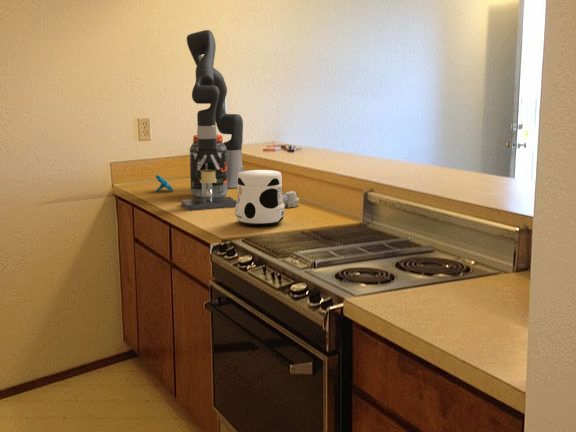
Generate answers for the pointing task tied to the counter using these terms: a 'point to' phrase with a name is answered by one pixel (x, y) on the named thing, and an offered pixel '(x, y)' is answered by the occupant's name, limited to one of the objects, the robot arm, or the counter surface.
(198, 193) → the supplement tub
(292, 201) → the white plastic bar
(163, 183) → the gear
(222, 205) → the post stand
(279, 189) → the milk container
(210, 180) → the brass hub
